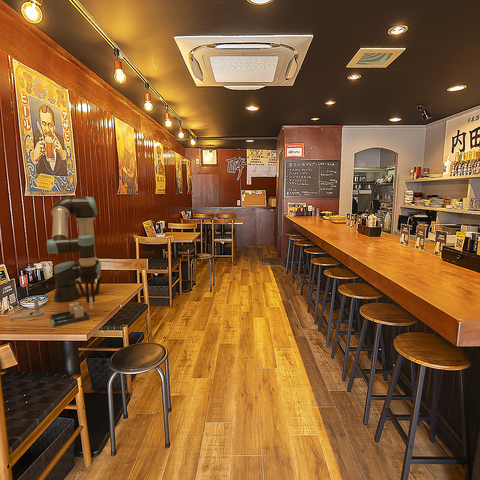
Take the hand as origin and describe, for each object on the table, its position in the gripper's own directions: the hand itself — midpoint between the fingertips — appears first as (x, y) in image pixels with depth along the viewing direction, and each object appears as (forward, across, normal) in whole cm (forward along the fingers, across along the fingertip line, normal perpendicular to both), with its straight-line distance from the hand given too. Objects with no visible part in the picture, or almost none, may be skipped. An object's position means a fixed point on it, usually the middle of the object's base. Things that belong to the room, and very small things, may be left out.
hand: (91, 308), depth 163 cm
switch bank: (+6, -10, +4) cm, 12 cm away
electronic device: (+6, -28, +21) cm, 35 cm away
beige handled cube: (+4, -6, 0) cm, 7 cm away
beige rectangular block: (+4, -7, +8) cm, 12 cm away
